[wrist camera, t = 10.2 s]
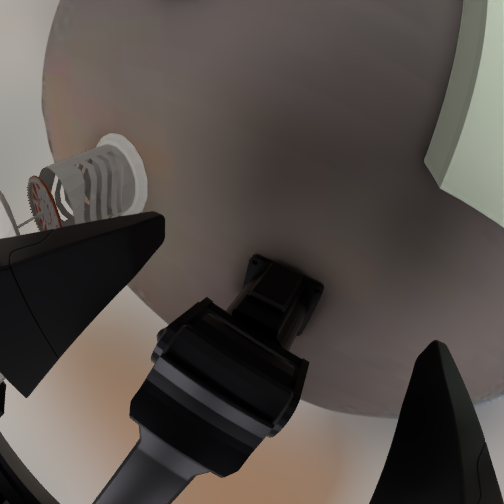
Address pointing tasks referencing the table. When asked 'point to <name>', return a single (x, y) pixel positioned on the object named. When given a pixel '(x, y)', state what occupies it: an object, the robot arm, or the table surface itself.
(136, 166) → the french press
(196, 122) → the table surface
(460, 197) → the pale green square tray
